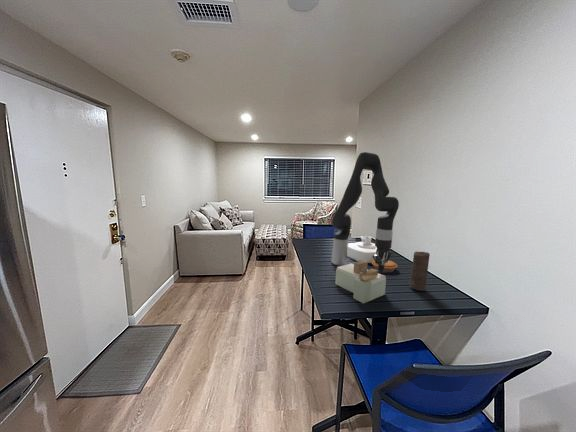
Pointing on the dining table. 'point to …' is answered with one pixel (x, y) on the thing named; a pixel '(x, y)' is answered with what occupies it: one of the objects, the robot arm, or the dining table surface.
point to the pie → (386, 266)
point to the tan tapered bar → (368, 274)
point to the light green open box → (360, 287)
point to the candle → (419, 270)
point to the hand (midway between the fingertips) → (380, 271)
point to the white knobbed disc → (362, 250)
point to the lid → (359, 270)
